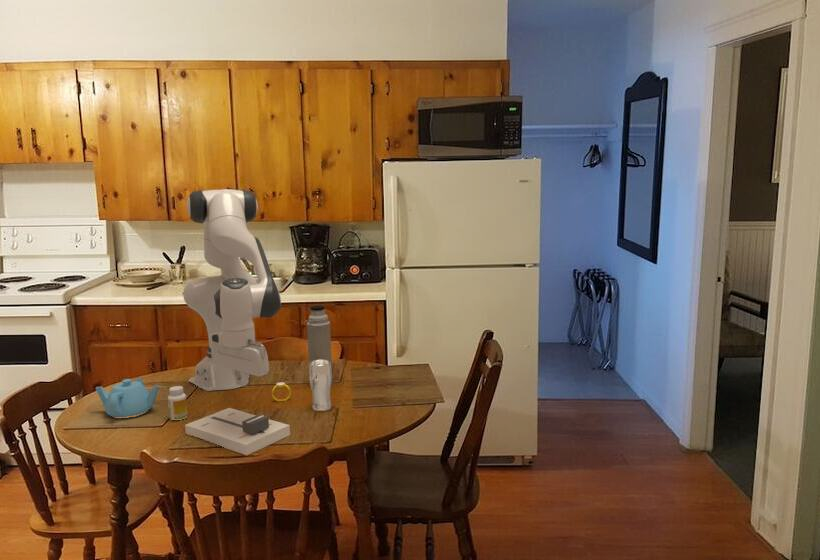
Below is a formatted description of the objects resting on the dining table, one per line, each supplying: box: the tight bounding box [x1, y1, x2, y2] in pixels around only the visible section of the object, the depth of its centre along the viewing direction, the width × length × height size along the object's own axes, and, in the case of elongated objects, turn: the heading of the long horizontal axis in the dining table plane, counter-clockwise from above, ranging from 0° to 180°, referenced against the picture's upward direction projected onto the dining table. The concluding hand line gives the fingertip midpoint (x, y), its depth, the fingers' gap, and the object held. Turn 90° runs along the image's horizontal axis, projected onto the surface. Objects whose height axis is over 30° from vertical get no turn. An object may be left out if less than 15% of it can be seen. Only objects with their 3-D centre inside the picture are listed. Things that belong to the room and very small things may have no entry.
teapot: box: [95, 377, 160, 417], centre depth 210 cm, size 15×15×11 cm
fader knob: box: [242, 414, 269, 435], centre depth 185 cm, size 4×6×3 cm, turn 145°
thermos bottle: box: [306, 305, 334, 387], centre depth 231 cm, size 8×8×28 cm
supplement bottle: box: [167, 385, 189, 421], centre depth 204 cm, size 5×5×10 cm
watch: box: [271, 381, 292, 402], centre depth 218 cm, size 6×3×6 cm, turn 101°
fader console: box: [184, 407, 291, 456], centre depth 191 cm, size 26×16×3 cm, turn 55°
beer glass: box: [308, 359, 333, 412], centre depth 209 cm, size 7×7×15 cm
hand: (241, 384), depth 187 cm, fingers closed
